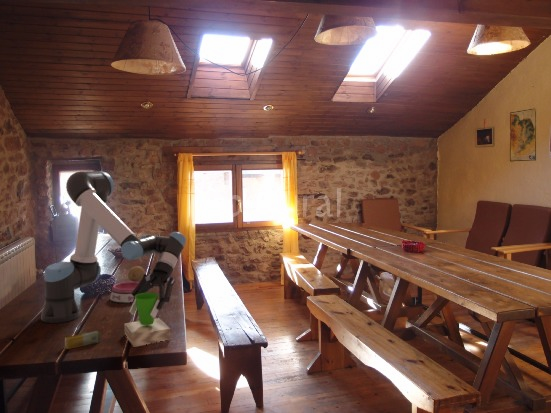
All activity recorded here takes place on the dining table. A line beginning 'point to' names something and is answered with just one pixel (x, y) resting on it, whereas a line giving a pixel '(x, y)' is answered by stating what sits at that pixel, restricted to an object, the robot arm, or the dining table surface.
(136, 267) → the natural sponge
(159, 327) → the birch block
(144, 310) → the cup
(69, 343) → the medication box
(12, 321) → the dining table surface
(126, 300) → the dog bowl
